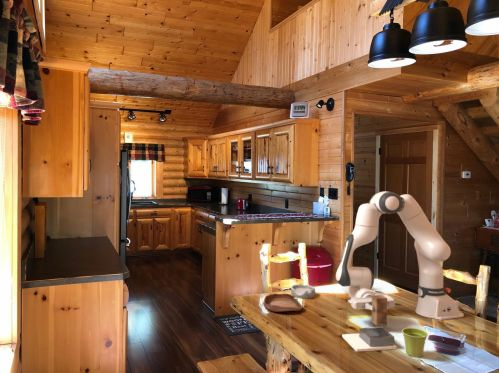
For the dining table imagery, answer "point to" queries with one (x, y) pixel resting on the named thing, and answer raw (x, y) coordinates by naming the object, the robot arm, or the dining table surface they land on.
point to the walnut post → (379, 310)
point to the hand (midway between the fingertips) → (380, 308)
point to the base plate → (363, 343)
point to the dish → (303, 291)
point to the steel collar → (376, 336)
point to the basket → (281, 303)
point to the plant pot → (414, 341)
